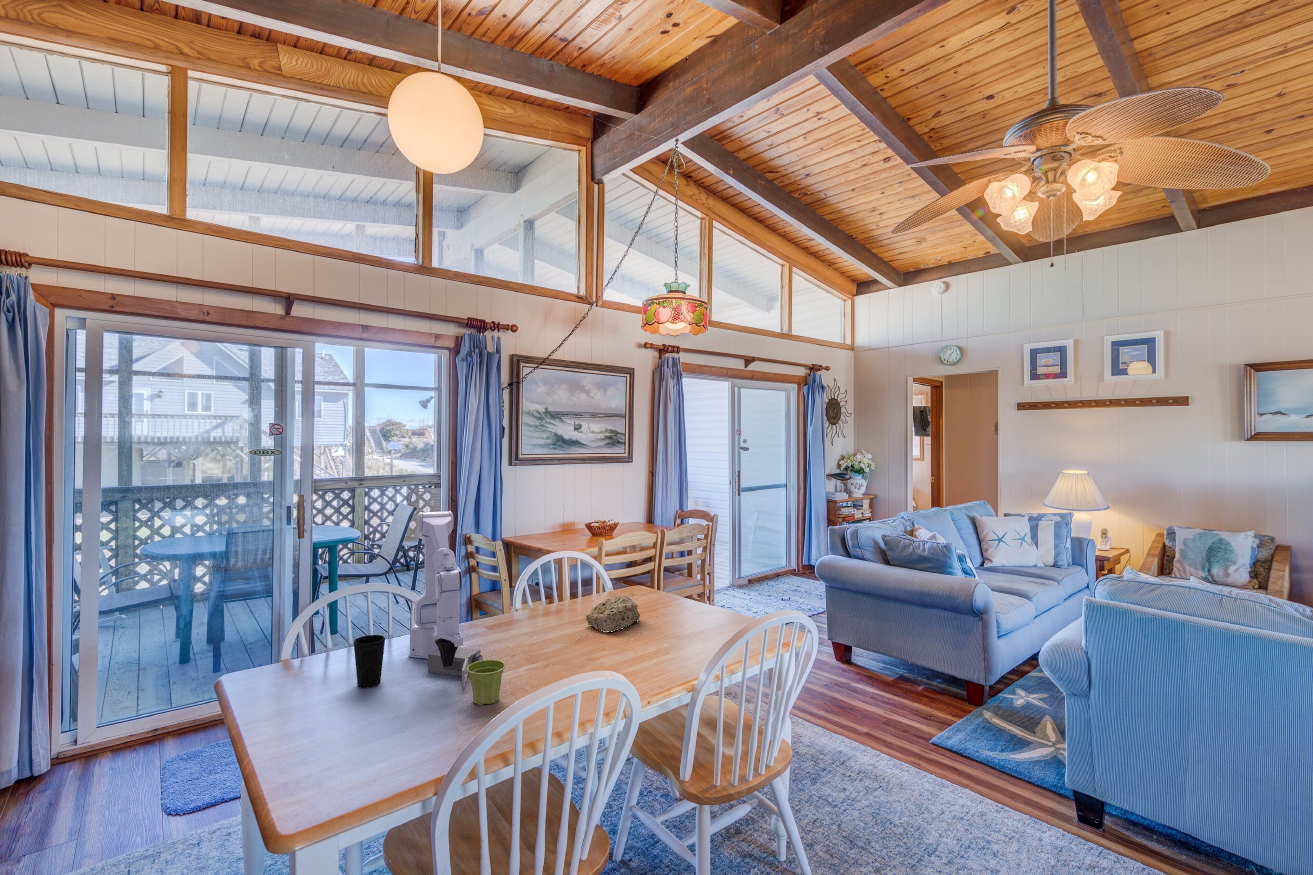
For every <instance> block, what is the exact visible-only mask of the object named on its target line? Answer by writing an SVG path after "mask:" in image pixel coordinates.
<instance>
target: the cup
mask: <svg viewBox="0 0 1313 875" xmlns="http://www.w3.org/2000/svg"><path fill="white" fill-rule="evenodd" d="M385 641H386V637H385V636H384V635H381V634H368V635H367V634H366V635H363V636H359V637H357V638H355V639H354V640H353V650H354V659H355V661H354V662H355V673H356V674H355V675H356V681H357V682H356V683H357V688H359V689H371V688H375V687H378V686H379V685H380V684H381V682H382V681H381V680H382V671H383V670H382V669H383V662H384V654H385V653H384V652H385V643H386V642H385Z"/></svg>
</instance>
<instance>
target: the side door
mask: <svg viewBox="0 0 1313 875" xmlns="http://www.w3.org/2000/svg"><path fill="white" fill-rule="evenodd" d="M467 667H468V659H465V662H464V665H463V668H462V676H461V689H463V690H464V689H465V687H466V683H467V680H468V677H469V675H468V671H467Z"/></svg>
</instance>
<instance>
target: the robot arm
mask: <svg viewBox="0 0 1313 875" xmlns="http://www.w3.org/2000/svg"><path fill="white" fill-rule="evenodd" d="M454 524H455V523H454V514H453V512H452V511H451V510H446V511H429V512H422V511H419V512H418V513H417V515H416V536H417V539H421V540H422V541H423V543H424V544H423V545H424V574H423V575H424V579H423V580H424V583H423V584H424V592H423V593H422V594H420V595H419V596H418V597H417V598H416V599H415V601H414V607H413V622H414V625H413V626H412V627H411V630H410V633H409V654H408V655H407V656H408V658H409V657H410V658H419V659H426V660H428V654H430V653H432V652H433V651H435V650H437V649H439V652H440V656H441V660H442V664H443V666H444V667H449V666H452V664H453V660H454V657H455V653H456V650H457V648H458V647H462V646H463V645H464V638H463V636H462V633H461V630H460V601H461V600H460V592H461V591H462V589H463V574H462V570H461V569H460V567H459V566H457V561H456V556H455V553H454V551H453V550H452V549H450V546H449V545H450V544H449V543H450V542H449V535H450V534H451V533H452V531H453V529H454Z"/></svg>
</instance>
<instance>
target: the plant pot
mask: <svg viewBox="0 0 1313 875" xmlns="http://www.w3.org/2000/svg"><path fill="white" fill-rule="evenodd" d="M505 669H506V663H505V662H504V661H503V660H498V659H483V660H482V661H477V662H474V663H472V664H470V665H469V666H468V667H467V671H468V672H469V675H468V677H470V682H471V683H470V684H471V690H472V697H473V702H474V703H475V704H476V705H479V706H483V705H485V704H486V705H492V704H494V703H497V701H499V698H500V691H501V685H502V680H503V678H502V677H503V674H504V671H505Z"/></svg>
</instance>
